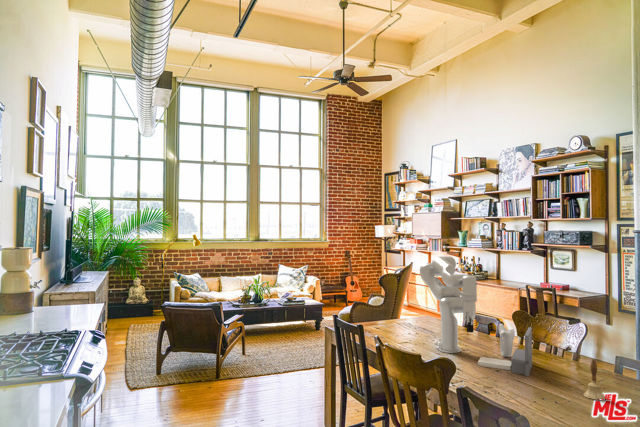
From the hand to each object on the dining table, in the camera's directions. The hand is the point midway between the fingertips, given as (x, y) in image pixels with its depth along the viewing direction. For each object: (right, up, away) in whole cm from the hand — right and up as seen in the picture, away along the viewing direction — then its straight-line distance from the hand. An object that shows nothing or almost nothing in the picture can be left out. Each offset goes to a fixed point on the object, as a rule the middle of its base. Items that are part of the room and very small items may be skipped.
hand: (470, 331), depth 235 cm
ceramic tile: (+11, -17, -7) cm, 21 cm away
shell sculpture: (+24, -17, +9) cm, 30 cm away
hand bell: (+36, -15, -50) cm, 64 cm away
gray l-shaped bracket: (+22, -16, -14) cm, 30 cm away
